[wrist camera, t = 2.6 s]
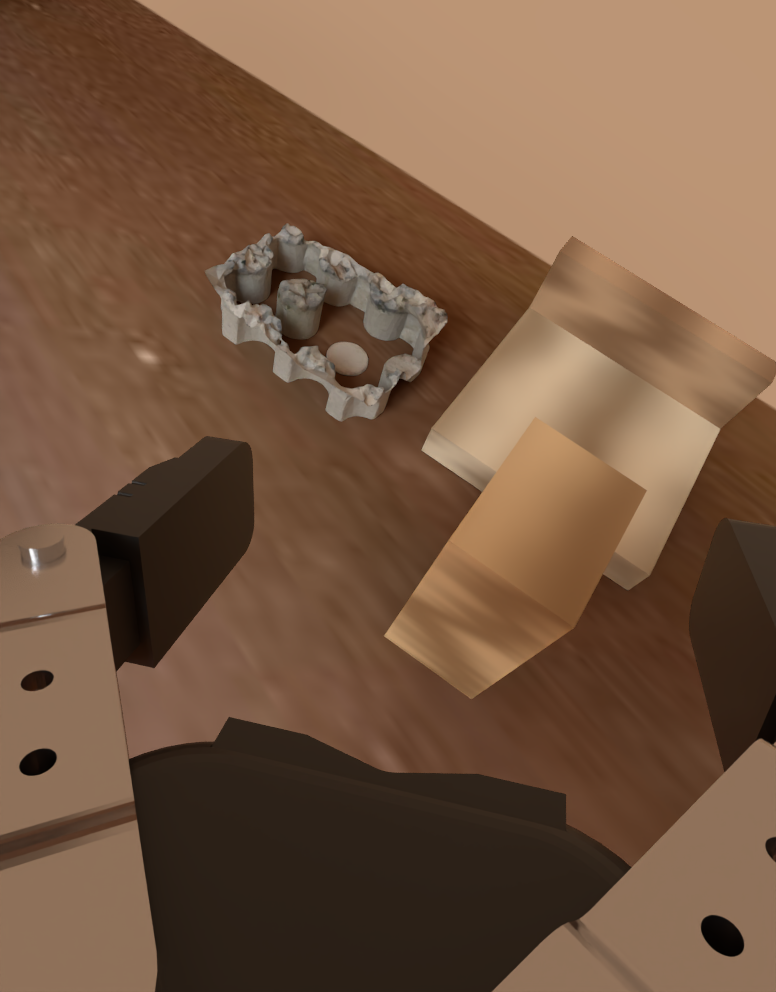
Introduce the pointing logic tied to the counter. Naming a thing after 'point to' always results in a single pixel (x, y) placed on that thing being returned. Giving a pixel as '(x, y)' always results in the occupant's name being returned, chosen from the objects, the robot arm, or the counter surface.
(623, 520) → the oak plank block
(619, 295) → the birch board
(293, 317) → the egg carton
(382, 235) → the counter surface
